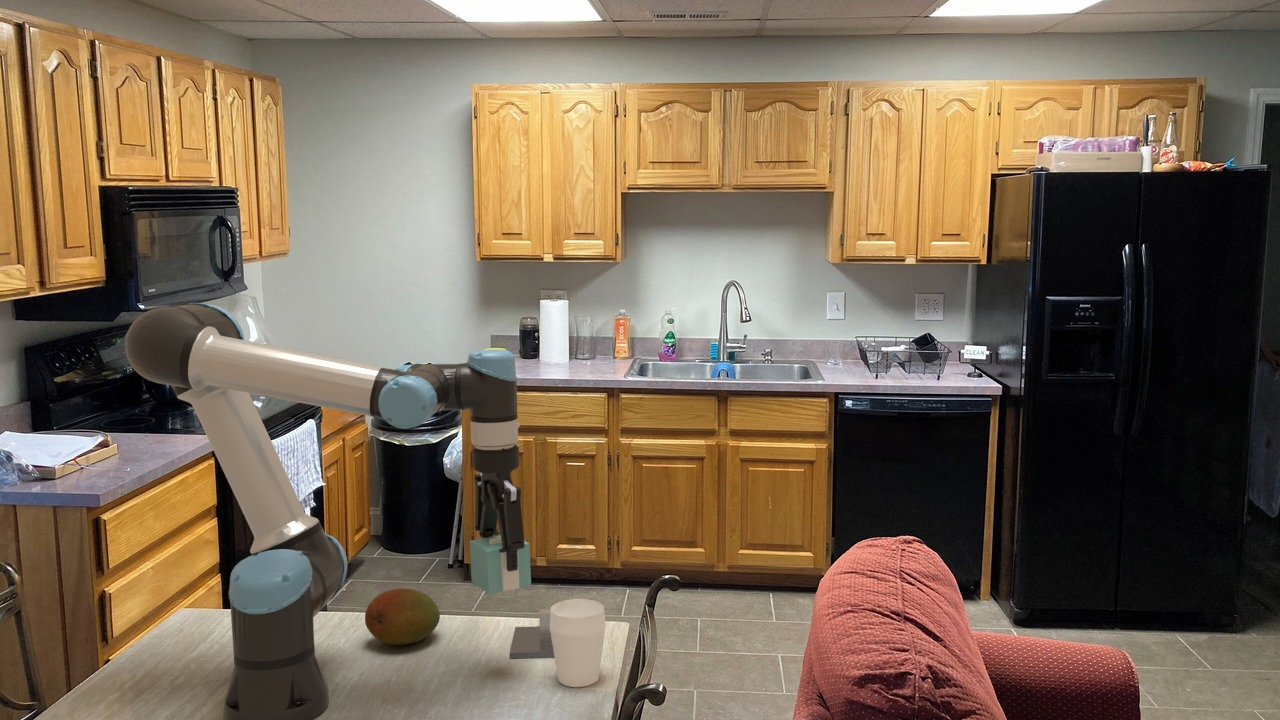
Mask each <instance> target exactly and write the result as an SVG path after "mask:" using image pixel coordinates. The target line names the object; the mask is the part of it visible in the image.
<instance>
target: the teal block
mask: <svg viewBox="0 0 1280 720" xmlns="http://www.w3.org/2000/svg"><path fill="white" fill-rule="evenodd" d="M502 548H503V545H502V540H501V534H498V535H493V537H488V538H482V537H481V538H477V539H473V540H472V539H471V540H469V552H470V555H469V556H470V557H469V558H470V573H471V575H470V576H471V578H470V579H471V583H472V584H474V585H475V586H477V587H478V588H479V589H481V590H482V591H483V592H485V593H486V594H488V595H492V594H496V593H502V592H504V591H503V590H502V574H501V553H500V552H499V549H502ZM530 552H531V550H530V543H529V542H527V541H526V540H524V548H522V549H519V550H518V564H519V588H518V589H521V588H524V587H529V586H532V576H531V575H532V574H531V573H532V572H531V553H530Z"/></svg>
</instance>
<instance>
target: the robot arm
mask: <svg viewBox="0 0 1280 720" xmlns="http://www.w3.org/2000/svg"><path fill="white" fill-rule="evenodd" d="M124 348H125V349H124V350H125V355H126V358H127V361H128V362H129V364H130V366H131V367H132V369H133V370H134V371H135V372H136V373H137V374H138V375H140V376H141V377H143V378H144V379H146V380H147V381H150V382H153V383H156V384H161V385H165V386H166V385H169V386H171V387H172V390H173V392H174V393H175V396H176V397H177V399H179V400H180V401H181V400H182V401H184V402H187V403H188V404H190V405H192V408H193V410H194V412H195V414H196V417H197V418H198V420H199V422H200V425H201V426H202V428H203V431H204V433H205V435H206V438H207V439H208V441H209V444H210V446H211V448H212V450H213V452H214V454H215V457H216V458H217V460H218V463H219V464H220V467H221V469H222V471H223V473H224V476H225V478H226V479H227V482H228V484H229V486H230V489H231V490H232V493H233V494H234V497H235V498H236V500H237V502H238V505H239V507H240V509H241V512H242V513H243V515H244V517H245V520H246V522H247V524H248V526H249V528H250V531H251V533H252V535H253V542H252V545H251V547H250V549H249V552H250V554H251V555H249V556H247V557H245V558H244V559H242V560H240V561H239V562H238V563H237V564H236V565H235V566H234V567H233V569H232V571H231V573H230V578H229V588H228V589H229V590H228V599H229V605H230V615H231V616H230V621H231V633H232V634H231V636H232V648H233V649H232V650H233V651H232V652H233V670H232V673H231V677H230V679H229V684H228V687H227V692H226V694H225V698H224V702H223V709H224V711H223V713H224V714H223V715H224V720H312V719H314V718H316V717H318V716H319V715H321V714H322V713H323V712H324V711H325V710H326V709H327V707H328V706H329V703H330V693H329V685H328V682H327V681H326V677H325V676H324V673H323V670H322V668H321V666H320V663H319V662H318V659H317V656H316V650H315V649H316V648H315V629H314V618H315V617H316V616H317V614H319V613H320V611H321V610H322V609H323V608H324V607H326V606H327V604H328V603H330V602H331V601H332V600H333V599H334V598H335V597H336V596H337V595H338V593H339V592H340V590H341V589H342V588H341V587H342V586H343V584H344V582H345V581H346V577H347V574H348V557H347V555H346V551H345V549H344V547H343V546H342V544H341V543H340V542H339V541H338V539H336V537H334V536H333V535H329V534H327V533H326V532H325V531H324V528H323V526H322V525H321V522H320V520H319V519H318V518H317V517H314V516H311V515H309V514H306V513H305V510H304V508H303V505H302V504H301V502H300V499H299V497H298V496H297V493H296V491H295V490H294V487H293V485H292V482H291V480H290V478H289V476H288V474H287V472H286V469H285V467H284V465H283V463H282V461H281V459H280V457H279V454H278V452H277V450H276V448H275V447H274V444H273V442H272V440H271V437H270V436H269V432H268V431H267V429H266V427H265V424H264V423H263V420H262V419H261V416H260V414H259V412H258V410H257V407H256V405H255V403H254V401H253V399H252V397H251V395H250V394H253V395H259V396H264V397H269V398H274V399H279V400H283V401H289V402H293V403H301V404H305V405H310V406H316V407H320V408H326V409H332V410H336V411H342V412H346V413H350V414H351V413H353V414H358V415H360V416H361V415H363V416H368V417H372V418H376V419H377V418H378V419H381V420H385V422H386V423H388V424H389V425H391V426H393V427H394V428H397V429H401V430H402V429H404V430H405V429H411V428H416V427H419V426H421V425H423V424H424V423H426V422H428V421H429V420H430V419H431V418H432V417H433V415H435V414H437V413H438V412H439V411H456V410H458V411H466V410H470V439H471V440H470V441H471V444H472V445H473V446H474V447H473V448H472V449H471V453H472V455H471V457H472V458H471V459H472V468H473V471H475V472H478V473H477V474H474V479H473V480H474V484H475V485H474V486H475V487H474V488H475V499H474V500H475V501H474V503H475V506H474V507H475V508H474V509H475V510H474V511H475V512H474V518H475V519H474V529H475V531H476V532H479V533H478V534H479V536H480V538H481V539H482V538H488V537H493V536H499V535H501V540H502V545H503V548H502V549H499V552H500V553H501V574H502V590H503V591H502V592H506V591H511V590H516V589H520V588H519V564H518V550H519V549H522V548H524V541H525V536H524V528H523V527H524V526H523V524H524V523H523V516H522V504H521V502H522V501H521V500H522V499H521V497H522V489H521V487H520V486H514V484H513V480H512V476H511V475H512V474H511V473H512V472H513V471H515V470H517V469H519V467H520V447H519V446H518V445H517V443H518V442H519V428H521V423H520V422H519V421H518V388H517V387H518V386H517V385H518V384H517V383H518V382H517V381H518V376H517V374H516V373H517V372H516V360H515V355H514V354H513V352H511V351H510V350H507V349H492V348H491V349H478V350H472V351H470V352H469V354H468V357H467V360H466V361H467V362H464V363H432V364H431V363H418V362H417V363H413V364H404V365H403V364H402V365H401V364H400V365H398V366H397V367H396V368H395V369H392V368H386V367H382V366H377V365H372V364H367V363H361V362H357V361H351V360H346V359H342V358H336V357H332V356H326V355H321V354H316V353H311V352H305V351H300V350H296V349H289V348H286V347H280V346H276V345H270V344H266V343H259V342H255V341H250V340H245V336H244V332H243V329H242V326H241V325H240V323H239V321H238V320H237V318H235V316H234V315H233V314H231V313H230V312H229V311H228V310H226V309H225V308H223V307H220V306H218V305H216V304H210V303H209V304H208V303H204V302H189V303H187V304H181V305H174V306H164V307H158V308H154V309H150V310H148V311H146V312H144V313H143V314H140V316H139V317H137V318H136V319H135V320H134V321H133V323H132V324H131V325H130V326H129V329H128V331H127V333H126V335H125V340H124ZM497 524H498V528H497Z"/></svg>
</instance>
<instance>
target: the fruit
mask: <svg viewBox="0 0 1280 720" xmlns="http://www.w3.org/2000/svg"><path fill="white" fill-rule="evenodd" d="M440 619H441V614H440V609H439V607H438V605H437V604H436V602H435V601H434V600H433V599H432V598H431V597H430V596H429V595H428V594H426V593H424V592H421V591H419V590H415V589H411V588H409V589H408V588H397V589H395V588H394V589H390V590H386V591H383V592H381V593H379V594H378V595H376V596H375V597H373V599H372V600H371V601H370V602H369V604H368V605H367V607H366V610H365V613H364V623H365V627H366V628H367V630H368V632H369V633H370V634H371V636H373V638H375V639H376V640H378V641H379V642H381V643H383V644H386V645H394V646H405V645H410V644H414V643H418V642H419V641H422V640H423V639H425V638H427V637H428V636H430V634H431V633H432V632H434V631H435V629H436V628H437V626H438V624H439V622H440Z"/></svg>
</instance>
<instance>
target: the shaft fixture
mask: <svg viewBox="0 0 1280 720" xmlns="http://www.w3.org/2000/svg"><path fill="white" fill-rule="evenodd" d="M550 611H551V608H543V609H539V614H538V616H539V617H538V618H539V619H538V620H539V621H538V622H539V625H538V626H515V627H514V631H513V636H512V641H511V645H510V649H509V659H512V660H513V659H541V658H542V659H549V658H554V659H555V657H554V651H553V645H552V639H551V632H550Z"/></svg>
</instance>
